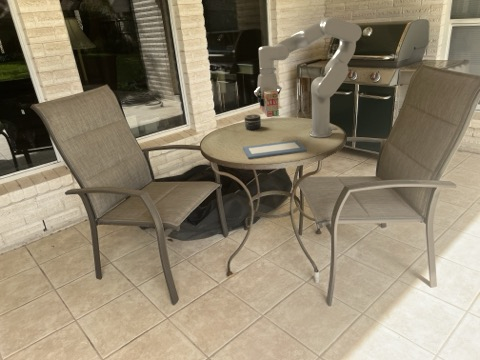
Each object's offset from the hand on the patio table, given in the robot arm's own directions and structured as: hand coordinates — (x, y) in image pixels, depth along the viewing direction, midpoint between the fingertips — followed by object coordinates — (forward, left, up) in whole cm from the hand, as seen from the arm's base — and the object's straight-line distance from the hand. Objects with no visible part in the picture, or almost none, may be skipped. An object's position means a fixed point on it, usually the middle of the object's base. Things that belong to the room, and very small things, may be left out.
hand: (268, 104), depth 200 cm
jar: (+5, -26, -20) cm, 33 cm away
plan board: (+3, +18, -20) cm, 27 cm away
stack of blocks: (0, -1, -4) cm, 4 cm away
